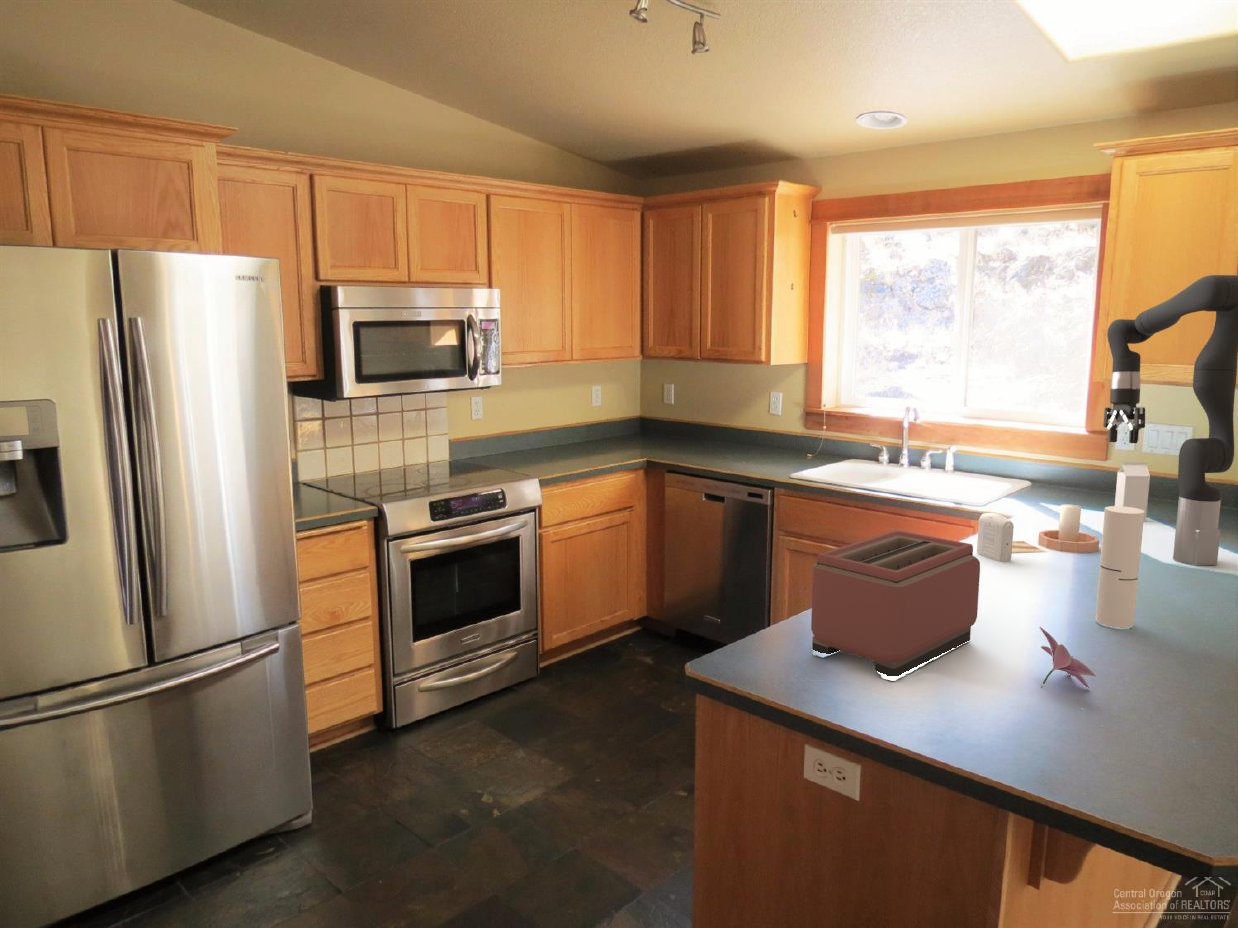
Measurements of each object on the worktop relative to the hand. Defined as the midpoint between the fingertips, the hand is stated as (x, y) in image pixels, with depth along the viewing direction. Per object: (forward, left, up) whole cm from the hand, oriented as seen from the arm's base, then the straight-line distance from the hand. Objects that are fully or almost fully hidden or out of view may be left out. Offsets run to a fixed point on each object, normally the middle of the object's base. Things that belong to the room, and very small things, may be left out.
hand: (1122, 442), depth 249 cm
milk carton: (+20, -19, -29) cm, 40 cm away
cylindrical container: (-71, +49, -29) cm, 91 cm away
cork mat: (-10, +37, -28) cm, 48 cm away
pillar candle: (-10, +21, -28) cm, 36 cm away
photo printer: (-19, +48, -29) cm, 59 cm away
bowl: (-10, +21, -28) cm, 37 cm away
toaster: (-78, +100, -29) cm, 130 cm away
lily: (-99, +78, -29) cm, 130 cm away
